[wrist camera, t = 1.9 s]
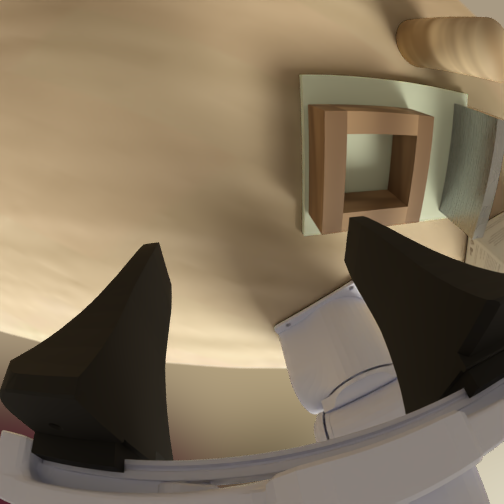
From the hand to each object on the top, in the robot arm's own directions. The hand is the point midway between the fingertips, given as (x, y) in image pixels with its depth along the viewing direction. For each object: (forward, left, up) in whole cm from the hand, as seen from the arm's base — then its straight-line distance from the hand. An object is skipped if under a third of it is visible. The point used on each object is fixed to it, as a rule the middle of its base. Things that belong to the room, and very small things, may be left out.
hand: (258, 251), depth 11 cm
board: (+11, -6, -10) cm, 16 cm away
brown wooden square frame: (+8, -5, -10) cm, 13 cm away
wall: (+16, -9, -10) cm, 21 cm away
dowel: (+17, +1, -10) cm, 20 cm away
